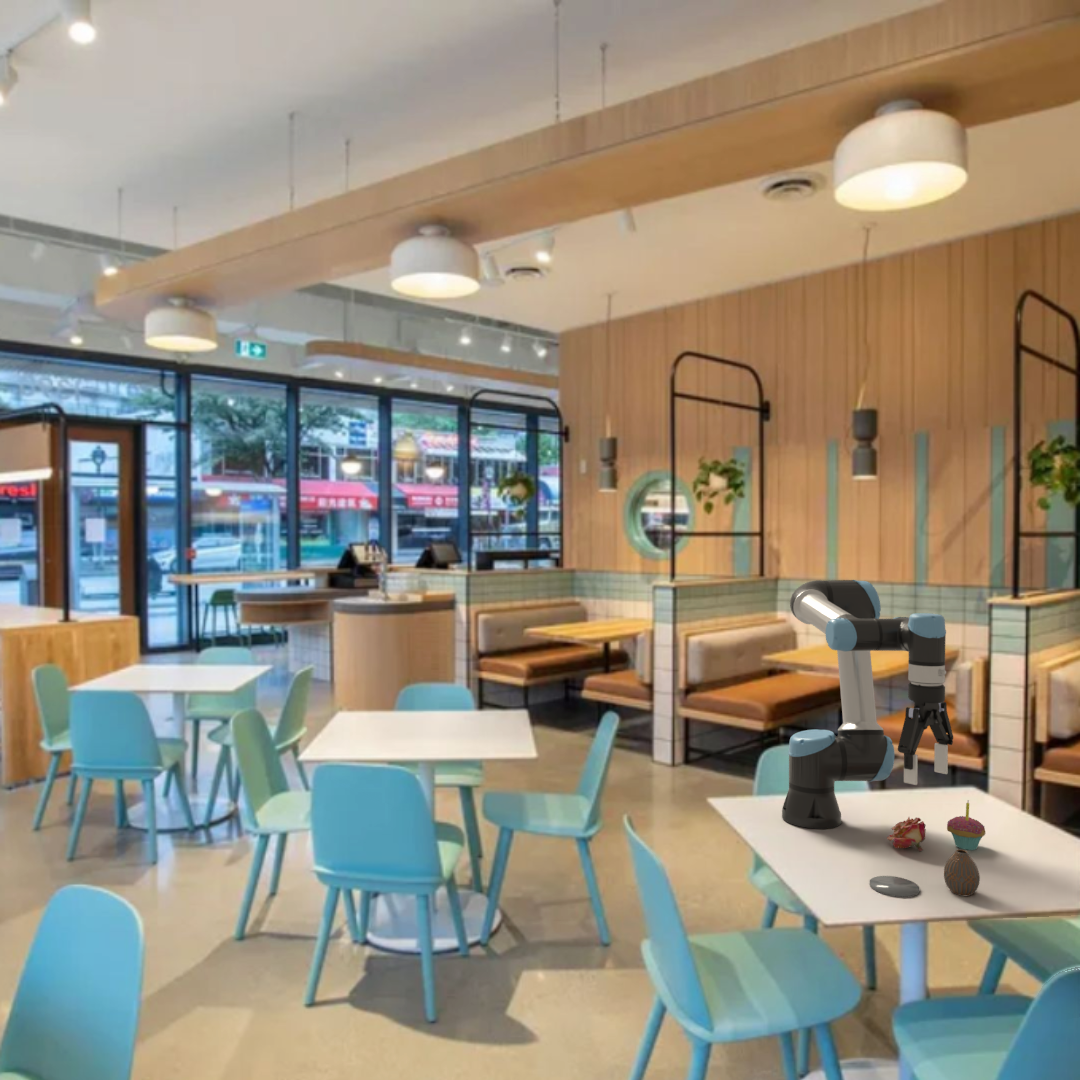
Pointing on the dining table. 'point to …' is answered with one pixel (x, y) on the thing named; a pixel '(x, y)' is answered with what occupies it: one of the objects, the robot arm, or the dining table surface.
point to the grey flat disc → (894, 886)
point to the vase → (961, 874)
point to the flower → (908, 833)
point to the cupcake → (966, 831)
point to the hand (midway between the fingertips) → (926, 778)
